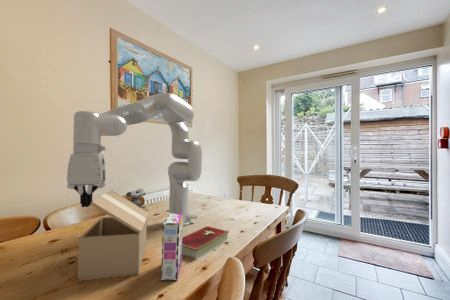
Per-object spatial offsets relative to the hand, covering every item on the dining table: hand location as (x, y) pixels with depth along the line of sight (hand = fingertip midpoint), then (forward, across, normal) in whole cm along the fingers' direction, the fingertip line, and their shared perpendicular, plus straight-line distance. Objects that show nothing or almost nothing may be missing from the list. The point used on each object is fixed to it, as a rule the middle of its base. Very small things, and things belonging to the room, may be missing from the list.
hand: (86, 205), depth 70 cm
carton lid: (+2, -11, 0) cm, 11 cm away
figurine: (+19, -8, -50) cm, 54 cm away
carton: (+19, -10, 0) cm, 21 cm away
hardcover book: (+20, -39, -7) cm, 44 cm away
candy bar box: (+19, -28, +10) cm, 35 cm away
